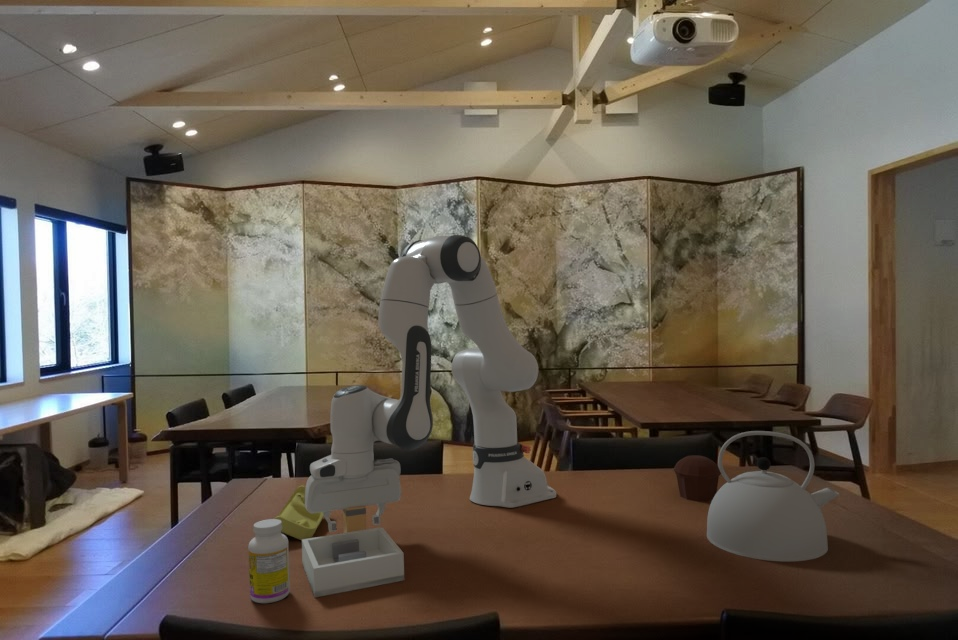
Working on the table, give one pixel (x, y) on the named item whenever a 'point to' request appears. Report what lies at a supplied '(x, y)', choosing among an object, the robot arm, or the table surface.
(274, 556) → the supplement bottle
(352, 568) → the walled box
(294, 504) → the plastic component
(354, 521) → the tan tall block
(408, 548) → the table surface
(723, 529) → the kettle
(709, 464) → the muffin
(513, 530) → the table surface
